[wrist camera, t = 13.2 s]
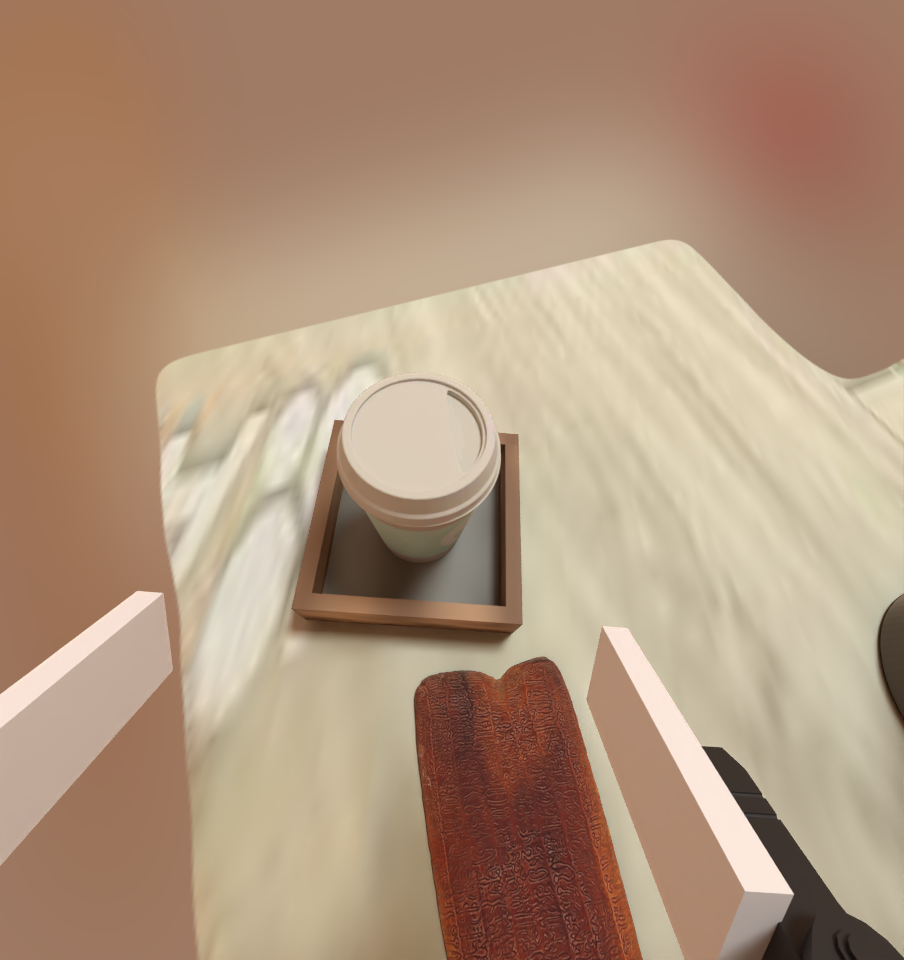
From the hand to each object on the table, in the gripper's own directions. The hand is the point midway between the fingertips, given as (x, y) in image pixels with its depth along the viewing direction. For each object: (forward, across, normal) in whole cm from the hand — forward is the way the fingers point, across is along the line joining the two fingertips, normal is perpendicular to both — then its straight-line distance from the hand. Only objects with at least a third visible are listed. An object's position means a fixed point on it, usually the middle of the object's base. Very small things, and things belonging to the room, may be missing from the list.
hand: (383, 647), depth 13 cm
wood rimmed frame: (+19, 0, -4) cm, 20 cm away
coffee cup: (+18, 0, -4) cm, 19 cm away
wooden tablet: (+4, +8, -20) cm, 22 cm away
